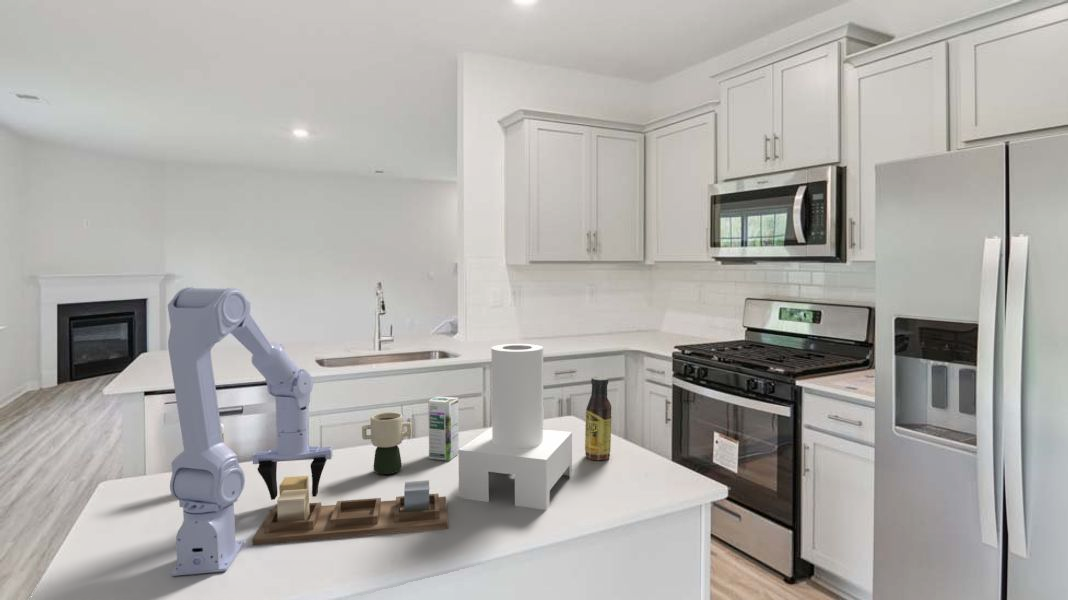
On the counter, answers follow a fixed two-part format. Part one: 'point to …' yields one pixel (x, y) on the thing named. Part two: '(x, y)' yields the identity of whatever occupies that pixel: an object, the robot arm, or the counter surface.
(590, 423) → the sauce bottle
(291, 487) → the ochre block
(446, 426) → the syrup box
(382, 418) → the character mug
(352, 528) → the puzzle board
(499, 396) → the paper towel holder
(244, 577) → the counter surface
